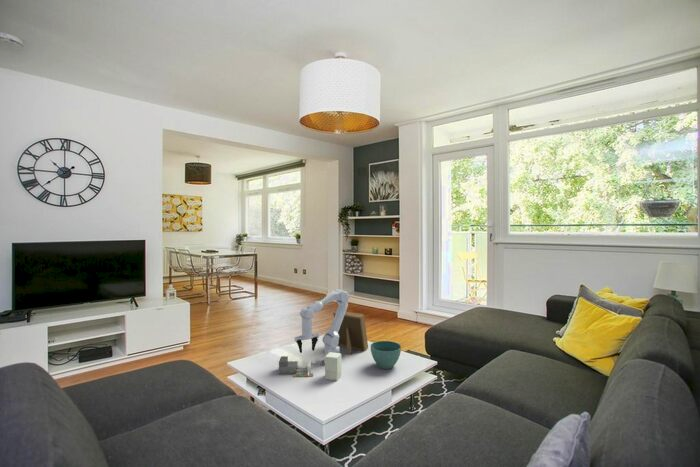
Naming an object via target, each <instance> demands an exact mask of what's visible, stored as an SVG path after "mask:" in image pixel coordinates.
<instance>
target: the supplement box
mask: <svg viewBox="0 0 700 467" xmlns="http://www.w3.org/2000/svg"><path fill="white" fill-rule="evenodd" d="M324 358H325V363H324V376H325V377H324V378H325V380H328V381H329V380H330V381H339V379H340V378H341V377H342V374H343V373H342V353H340V352H339V353H333V352H329V353H328V354H327V355H326V356H325V355H324Z"/></svg>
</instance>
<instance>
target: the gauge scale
mask: <svg viewBox="0 0 700 467" xmlns="http://www.w3.org/2000/svg"><path fill="white" fill-rule="evenodd" d="M313 376H314V373H313V372H312V373H311V372H310V373H309V376H308V373H296V374H292V378H310V377H311V378H313Z"/></svg>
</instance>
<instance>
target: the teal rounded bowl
mask: <svg viewBox="0 0 700 467" xmlns="http://www.w3.org/2000/svg"><path fill="white" fill-rule="evenodd" d="M369 345H370V352H371V356H372V359H373V361H374V362H375V364H376V365H377V366H378V367H379V368H380V369H384V370H389V369H392V368H394V366H395V365H396V363H397V362H398V361H399V359H400V355H401V352H402V346H401V344H400V343H398V342H395V341H389V340H379V341H375V342H372V343H370V344H369Z"/></svg>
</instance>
